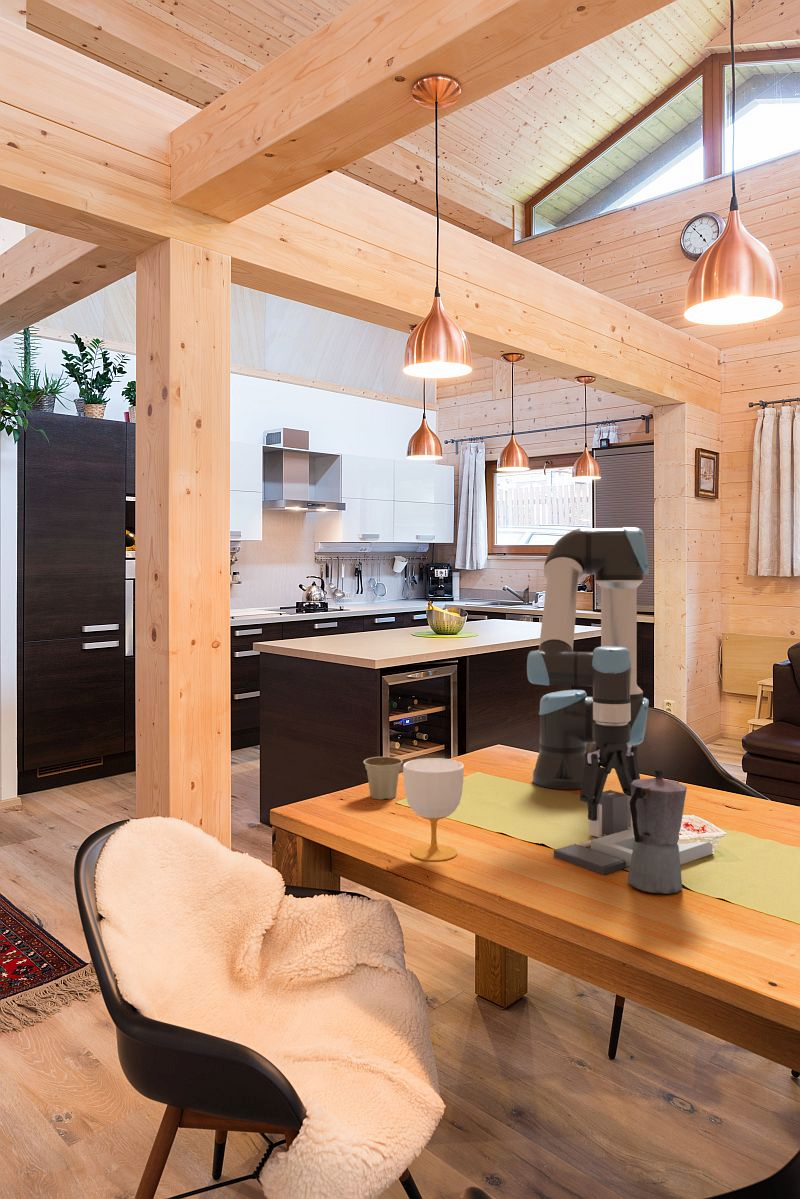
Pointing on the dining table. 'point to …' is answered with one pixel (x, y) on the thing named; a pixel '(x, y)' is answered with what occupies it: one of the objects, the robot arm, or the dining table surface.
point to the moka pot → (656, 834)
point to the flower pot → (383, 776)
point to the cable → (586, 843)
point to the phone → (590, 859)
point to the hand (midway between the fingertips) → (611, 830)
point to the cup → (433, 798)
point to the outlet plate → (624, 842)
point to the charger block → (613, 812)
